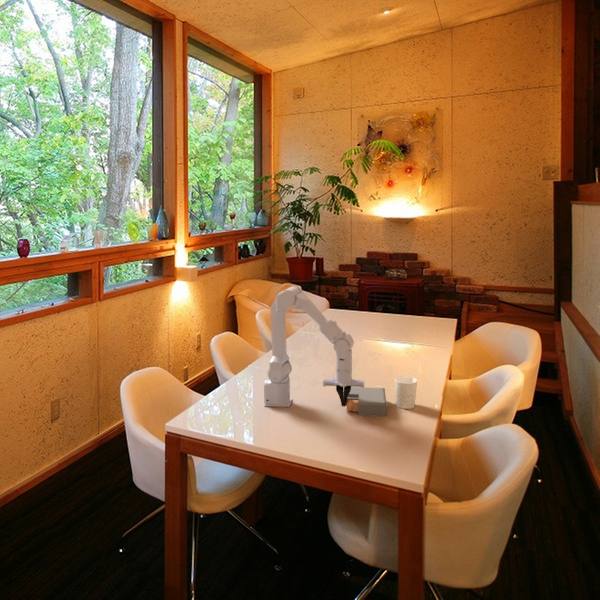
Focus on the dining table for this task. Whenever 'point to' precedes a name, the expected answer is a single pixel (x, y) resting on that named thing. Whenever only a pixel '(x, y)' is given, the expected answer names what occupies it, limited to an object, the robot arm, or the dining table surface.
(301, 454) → the dining table surface
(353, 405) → the orange knob
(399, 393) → the white cup
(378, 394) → the box
